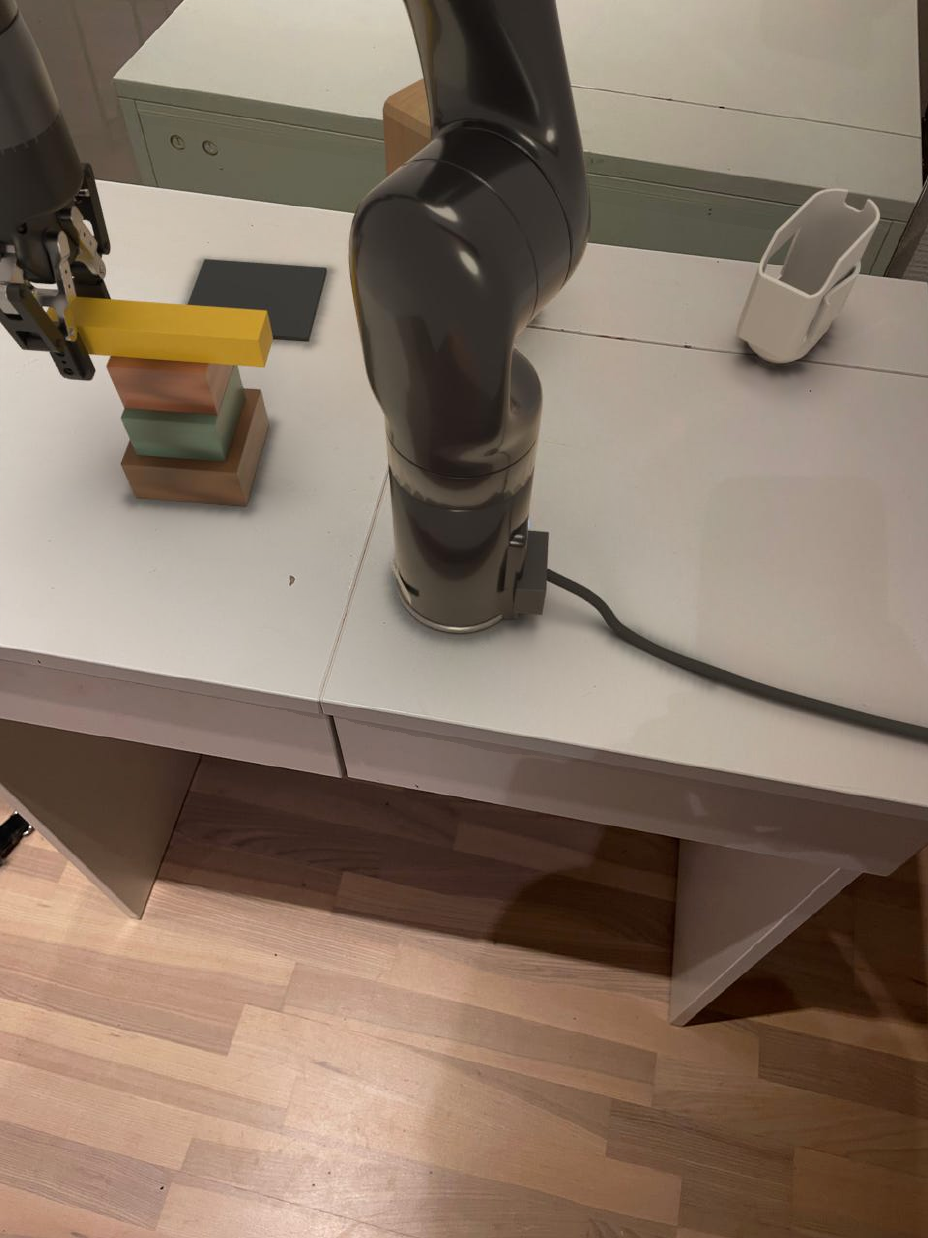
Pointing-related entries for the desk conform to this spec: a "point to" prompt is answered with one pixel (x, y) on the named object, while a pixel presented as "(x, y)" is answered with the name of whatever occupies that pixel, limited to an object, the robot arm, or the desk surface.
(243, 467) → the toy tower
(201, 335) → the yellow bar
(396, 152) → the wooden block
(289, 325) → the rubber mat
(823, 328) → the cable organizer
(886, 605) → the desk surface
